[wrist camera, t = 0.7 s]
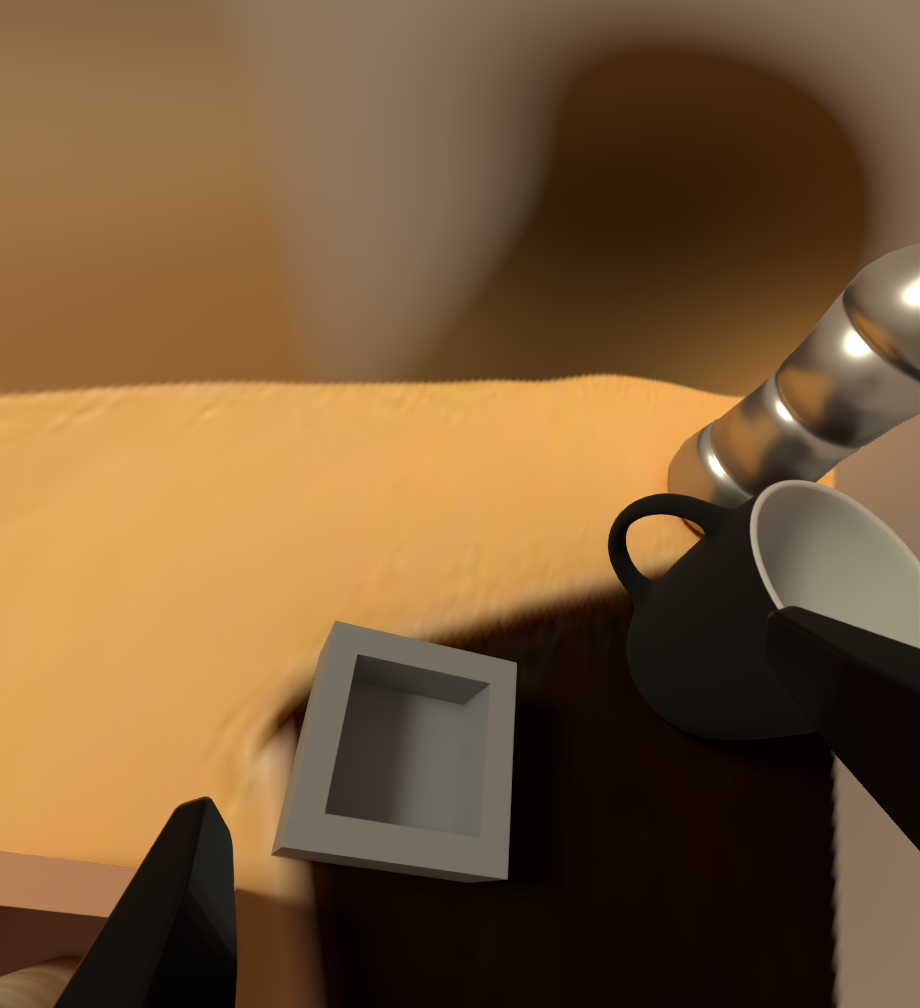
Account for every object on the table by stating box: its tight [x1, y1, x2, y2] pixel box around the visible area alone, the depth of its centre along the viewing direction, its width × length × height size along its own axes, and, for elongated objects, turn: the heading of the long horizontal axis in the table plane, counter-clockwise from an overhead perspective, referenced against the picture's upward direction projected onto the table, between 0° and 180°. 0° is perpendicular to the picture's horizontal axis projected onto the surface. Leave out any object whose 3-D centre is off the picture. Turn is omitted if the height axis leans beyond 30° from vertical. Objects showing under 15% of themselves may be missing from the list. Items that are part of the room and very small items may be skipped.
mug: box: [608, 480, 920, 740], centre depth 26 cm, size 12×9×10 cm
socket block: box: [271, 621, 517, 883], centre depth 21 cm, size 7×7×4 cm
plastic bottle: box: [667, 243, 920, 535], centre depth 29 cm, size 6×7×20 cm
